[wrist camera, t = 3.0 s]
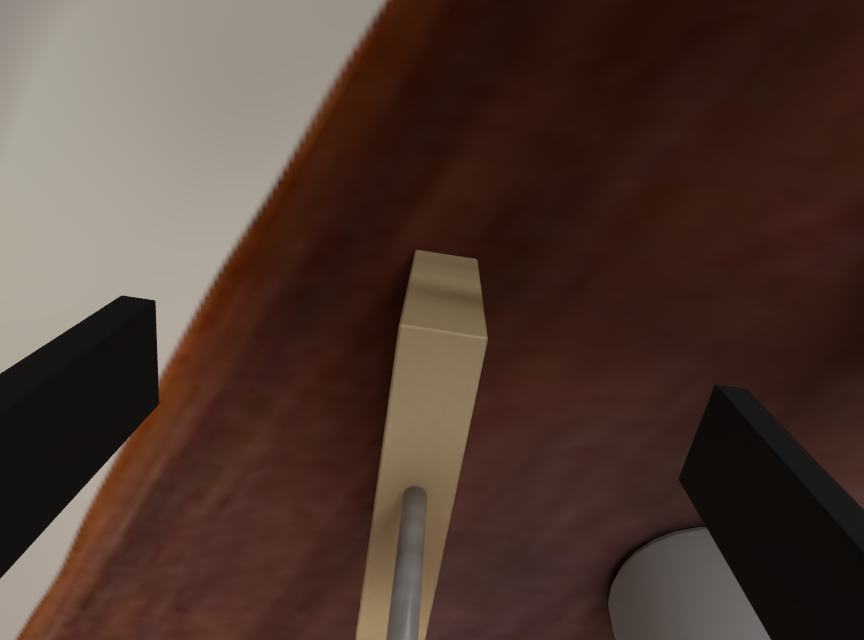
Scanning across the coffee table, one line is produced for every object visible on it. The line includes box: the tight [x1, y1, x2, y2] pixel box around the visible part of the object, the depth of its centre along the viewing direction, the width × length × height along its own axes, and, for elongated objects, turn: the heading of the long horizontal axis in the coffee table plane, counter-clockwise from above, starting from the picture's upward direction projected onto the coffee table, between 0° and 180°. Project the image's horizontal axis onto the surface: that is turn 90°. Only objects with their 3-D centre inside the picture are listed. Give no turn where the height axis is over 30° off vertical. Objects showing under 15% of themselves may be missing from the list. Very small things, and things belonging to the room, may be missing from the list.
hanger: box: [355, 250, 488, 640], centre depth 16 cm, size 12×2×11 cm, turn 171°
